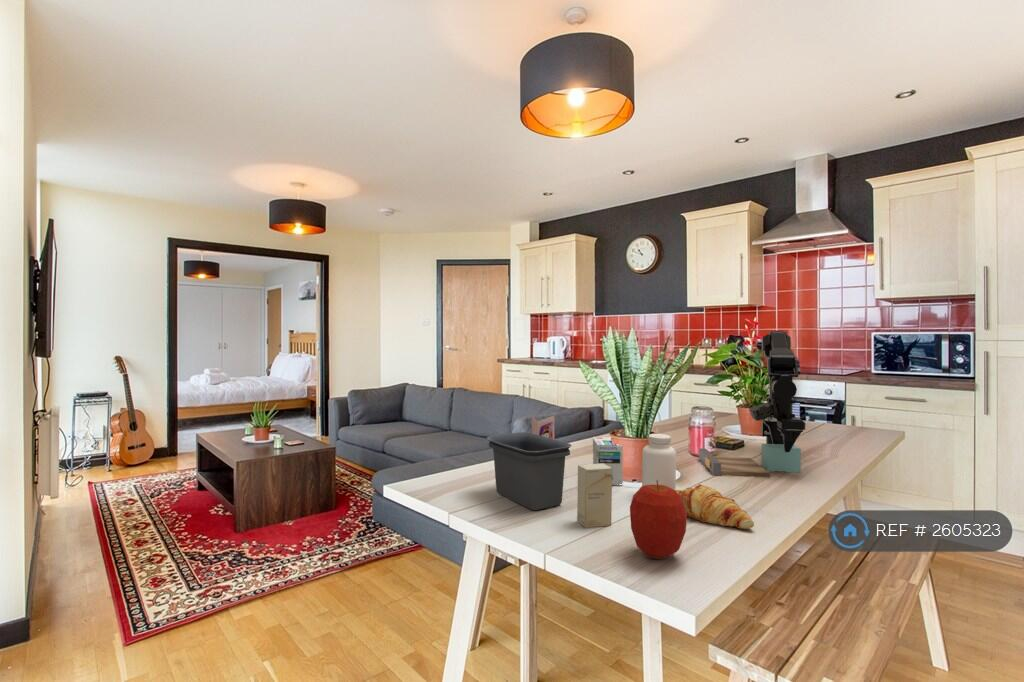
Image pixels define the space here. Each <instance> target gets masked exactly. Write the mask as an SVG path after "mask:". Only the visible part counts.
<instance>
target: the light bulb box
mask: <svg viewBox="0 0 1024 682" xmlns="http://www.w3.org/2000/svg"><path fill="white" fill-rule="evenodd" d="M611 438H612V437H609V436H608V437H603V436H602V437H600V436H592V464H600V463H604V464H606V465H607V466H609V467H611V468H612V486H618V485H617V484H622V483H623V484H624V481H623V478H624V477H623V473H624V472H623V469H624V468H623V464H624V463H623V462H624V461H623V460H624V459H623V456H624V455H623V453H624V452H623V451H624V449H623V447H624V446H622V445H623V444H622V445H619V444H614V443H613V444H612V441H611Z"/></svg>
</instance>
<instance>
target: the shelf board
mask: <svg viewBox="0 0 1024 682" xmlns="http://www.w3.org/2000/svg"><path fill="white" fill-rule="evenodd" d="M714 457H715V458H716V459H717V460H718V461H719V462H720V463H721V476H725V475H731V477H750V476H754V478H756V477H757V478H771V472H770V471H767V470H766V469H764V468H763V467H762V465H761V464H759V463H757V461H756V460H754V459H753V458H751V457H742V456H741V457H739V456H738V457H737V456H736V457H734V456H714Z"/></svg>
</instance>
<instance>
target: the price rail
mask: <svg viewBox="0 0 1024 682" xmlns="http://www.w3.org/2000/svg"><path fill="white" fill-rule="evenodd" d="M715 457H716V456H714V455H713V454H712V453H711V452H710V451H709V450H708V449H707V448H703V447H702V448H699V449H698V460H699V461H700V462H701V463H702V464H703V466H704V467H705V468H706V469H707V470H708V471H709V473H711V475H712V474H713V475H718V477H721V476H722V475H721V463H720V462H719V461H718V460H717V459H716V458H715ZM713 475H712V476H713Z"/></svg>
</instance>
